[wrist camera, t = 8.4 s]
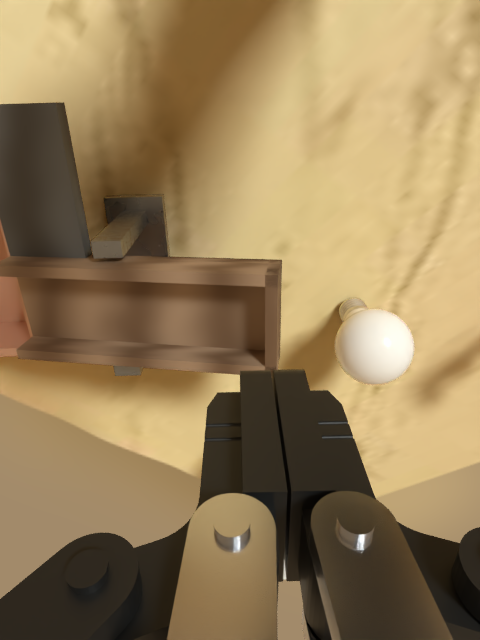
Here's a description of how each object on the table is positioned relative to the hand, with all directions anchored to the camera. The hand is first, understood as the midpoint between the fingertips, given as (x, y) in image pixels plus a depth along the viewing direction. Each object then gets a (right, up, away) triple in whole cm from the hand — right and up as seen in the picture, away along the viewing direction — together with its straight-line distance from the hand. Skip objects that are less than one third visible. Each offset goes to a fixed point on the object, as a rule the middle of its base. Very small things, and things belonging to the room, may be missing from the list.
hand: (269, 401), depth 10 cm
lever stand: (-10, +7, +31) cm, 33 cm away
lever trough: (-8, +8, +20) cm, 23 cm away
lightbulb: (+10, +3, +33) cm, 35 cm away
